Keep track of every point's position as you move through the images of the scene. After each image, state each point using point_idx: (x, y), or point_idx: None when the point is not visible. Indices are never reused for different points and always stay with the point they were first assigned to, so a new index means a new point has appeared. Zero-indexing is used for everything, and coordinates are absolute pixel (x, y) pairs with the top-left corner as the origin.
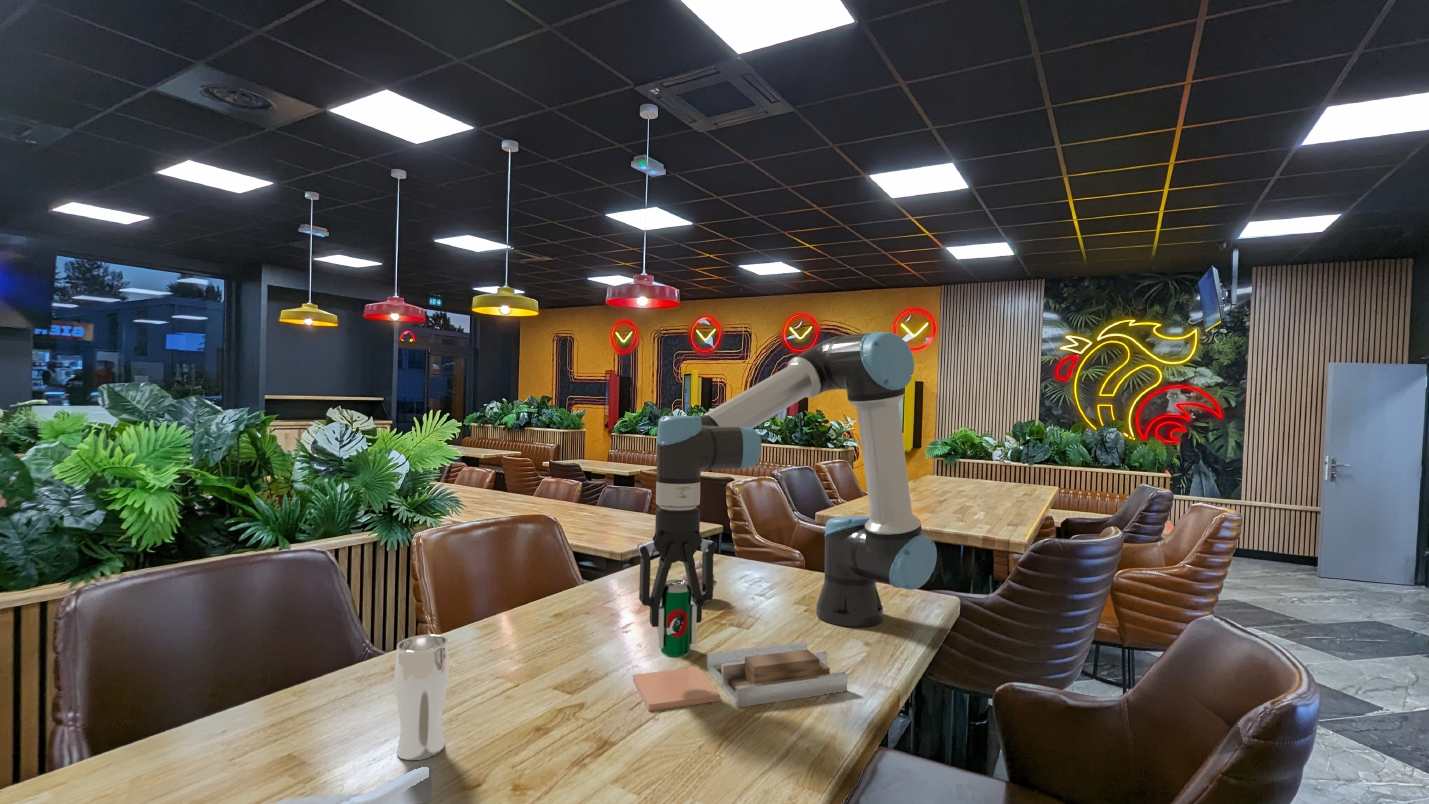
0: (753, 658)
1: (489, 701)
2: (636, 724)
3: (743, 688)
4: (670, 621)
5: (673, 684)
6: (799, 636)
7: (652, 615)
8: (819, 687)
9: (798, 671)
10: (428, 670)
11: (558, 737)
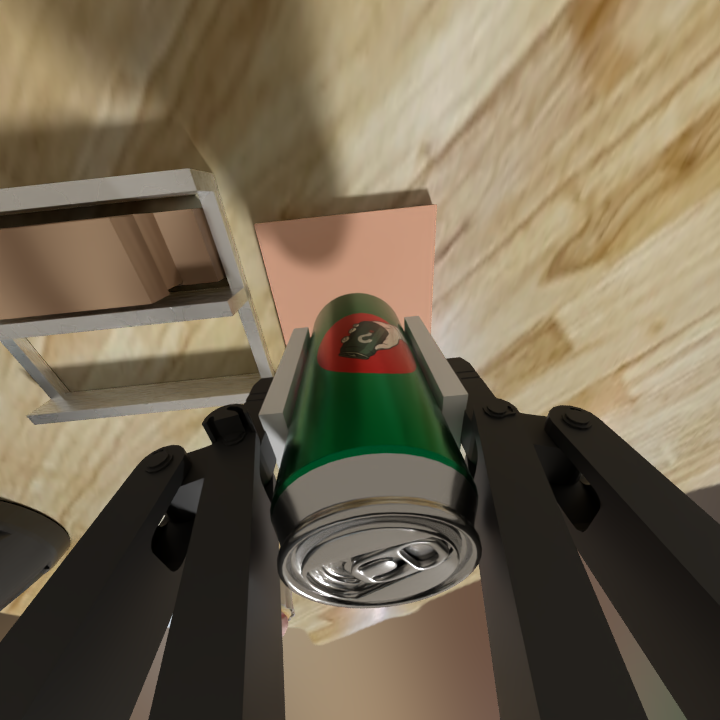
0: (121, 287)
1: (695, 316)
2: (479, 130)
3: (172, 170)
4: (400, 348)
5: None
6: (91, 476)
7: (482, 385)
8: None
9: None
10: None
11: (675, 98)
